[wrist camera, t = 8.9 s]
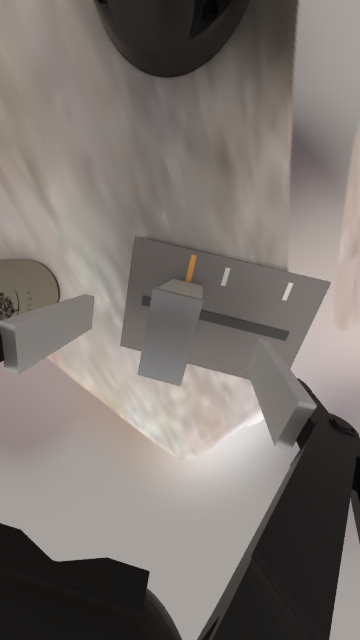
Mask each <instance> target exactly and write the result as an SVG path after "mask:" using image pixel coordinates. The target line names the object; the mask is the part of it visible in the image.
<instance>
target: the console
mask: <svg viewBox="0 0 360 640" xmlns="http://www.w3.org/2000/svg"><path fill="white" fill-rule="evenodd" d="M172 279H177V280H181V281H186V282H190V283H194V284H198V285H202V286H203V296H202V299H203V304H202V308H201V312H200V315H199V319H198V323H197V326H196V330H195V334H194V338H193V341H192V345H191V349H190V353H189V356H188V360H187V363H188V364H192V365H196V366H200V367H203V368H207V369H211V370H215V371H219V372H222V373H226V374H230V375H234V376H238V377H242V378H245V379H249V380H250V377H249V374H248V371H247V369H246V368H247V366H248V363H249V361H250V358H251V356H252V353H253V351H254V348H255V346H256V343H257V341H258V338H260V339H264V340H268V341H269V342H270V343H271V345H272V346H273V347H274V349H275V350H276V351H277V353H278V354H279V355H280V357H281V358H282V359H283V361H284V362H285V363H286V365H287V366H288V367H289V369H290V368H291V366H292V364H293V361H294V359H295V357H296V355H297V353H298V351H299V349H300V347H301V345H302V343H303V340H304V338H305V336H306V334H307V332H308V330H309V328H310V326H311V324H312V321H313V319H314V317H315V315H316V313H317V311H318V309H319V307H320V305H321V303H322V300H323V298H324V296H325V294H326V292H327V290H328V288H329V286H330V284H331V282H328V281H324V280H320V279H315V278H311V277H307V276H303V275H298V274H294V273H290V272H285V271H281V270H277V269H273V268H268V267H264V266H260V265H256V264H251V263H247V262H243V261H238V260H234V259H230V258H226V257H221V256H217V255H213V254H209V253H204V252H200V251H196V250H191V249H187V248H183V247H179V246H174V245H170V244H166V243H161V242H157V241H153V240H149V239H144V238H140V237H136V236H135V240H134V247H133V255H132V262H131V269H130V277H129V284H128V292H127V299H126V307H125V314H124V322H123V329H122V336H121V344H120V346H123V347H127V348H131V349H135V350H138V351H142V347H143V342H144V336H145V330H146V325H147V319H148V313H149V308H150V302H151V297H152V291H153V288H158V287H160V286H161V285H163V284H165V283H166V282H168V281H170V280H172Z"/></svg>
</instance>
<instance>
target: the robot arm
mask: <svg viewBox="0 0 360 640" xmlns="http://www.w3.org/2000/svg"><path fill="white" fill-rule="evenodd" d="M93 1H94V3H95V5H96V8H97V10H98V12H99V15H100V17H101V20H102V22H103V24H104V26H105V29H106V31H107V33H108V35H109V36H110V38H111V40H112V42H113V43H114V45H115V46H116V47H117V49H118V50H119V51H120V52H121V54H122V55H123V56H124V57H125V58H126V59H127V60H128V61H130V62H131V63H132V64H133V65H135V66H136V67H138V68H140V69H141V70H143V71H145V72H148V73H151V74H155V75H160V76H174V75H180V74H183V73H186V72H189V71H191V70H193V69H196V68H197V67H199V66H201V65H202V64H204V63H205V62H206V61H208V60H209V59H210V58H211V57H212V56H214V55H215V54H216V53H217V52H218V51H219V49H220V48H221V47H222V46H223V45H224V44H225V42H226V41H227V40H228V39H229V37H230V36H231V34H232V33H233V31H234V30H235V28H236V26H237V24H238V23H239V21H240V19H241V17H242V15H243V13H244V11H245V8H246V6H247V4H248V1H249V0H93ZM93 304H94V296H90V295H86V294H84V295H81V296H78V297H75V298H71V299H68V300H65V301H62V302H59V303H55V304H52V305H49V306H46V307H43V308H39V309H36V310H33V311H30V312H27V313H23V314H20V315H17V316H14V317H11V318H8V319H4V320H1V321H0V362H2V361H3V360H4V368H5V371H9V372H12V373H16V374H20V373H22V372H23V371H25V370H26V369H28V368H29V367H31V366H33V365H34V364H36V363H37V362H39V361H41V360H42V359H44V358H45V357H47V356H49V355H50V354H52V353H53V352H55V351H56V350H58V349H60V348H61V347H63V346H64V345H66V344H68V343H69V342H71V341H72V340H74V339H76V338H77V337H79V336H80V335H82V334H83V333H85V332H87V331H88V330H90V329H91V328H92V319H93ZM246 369H247V371H248V374H249V377H250V380H251V382H252V385H253V388H254V391H255V393H256V396H257V399H258V402H259V404H260V407H261V410H262V413H263V415H264V418H265V421H266V423H267V426H268V429H269V432H270V434H271V437H272V440H273V443H274V445H275V446H277V447H281V448H284V449H288V450H291V449H292V447H293V445H294V444H295V442H296V441H297V443H298V445H299V448H300V451H299V452H298V454H297V455H296V457H295V459H294V460H293V462H292V464H291V465H290V466H291V467H290V469H289V471H288V472H287V474H286V476H285V478H284V480H283V482H282V484H281V486H280V487H279V489H278V491H277V493H276V495H275V497H274V499H273V501H272V502H271V504H270V506H269V508H268V510H267V512H266V514H265V516H264V518H263V520H262V521H261V523H260V525H259V527H258V529H257V531H256V533H255V535H254V536H253V538H252V540H251V542H250V544H249V546H248V548H247V549H246V551H245V553H244V555H243V557H242V559H241V561H240V563H239V565H238V567H237V568H236V570H235V572H234V574H233V576H232V578H231V580H230V582H229V583H228V585H227V587H226V589H225V591H224V593H223V595H222V596H221V598H220V600H219V602H218V604H217V606H216V608H215V609H214V611H213V613H212V615H211V617H210V618H209V620H208V622H207V624H206V625H205V627H204V629H203V630H202V632H201V634H200V636H199V637H198V639H197V640H329V636H330V630H331V623H332V615H333V610H334V603H335V596H336V589H337V583H338V577H339V570H340V563H341V556H342V550H343V543H344V537H345V530H346V523H347V517H348V510H349V504H350V498H351V502H352V508H353V512H354V517H355V522H356V527H357V532H358V537H359V542H360V438H359V434H358V433H357V431H356V430H355V429H354V428H353V427H352V426H351V425H350V424H349V423H348V422H346V421H345V420H343V419H341V418H340V417H337V416H336V415H333V414H330V413H328V411H327V410H326V409H325V408H324V406H323V405H322V404H321V403H320V401H319V400H318V399H317V398H316V396H315V395H314V394H313V393H312V391H311V390H310V388H309V387H308V386H307V385H306V384H305V383H304V382H303V381H301V380H300V379H298V378H296V377H295V375H294V374H293V373H292V371H291V370H290V369H289V367H288V366H287V365H286V363H285V362H284V361H283V359H282V358H281V357H280V355H279V354H278V353H277V351H276V350H275V349H274V347H273V346H272V345H271V343H270V342H269V341H268V340H264V339H260V338H258V341H257V343H256V346H255V348H254V351H253V353H252V356H251V358H250V361H249V363H248V366H247V368H246ZM148 577H149V571H147V570H144V569H141V568H138V567H134V566H131V565H128V564H125V563H122V562H119V561H116V560H113V559H110V558H96V559H85V560H73V561H61V562H57V561H53V560H52V559H50V558H49V557H48V556H47V555H46V554H45V553H44V552H43V551H42V550H41V549H40V548H39V547H38V546H37V545H36V544H35V543H34V542H33V541H31V539H30V538H29V537H28V536H27V535H25V533H23V532H22V531H21V530H20V529H17V528H14V527H10V526H7V525H4V524H1V523H0V640H182V638H181V636H180V634H179V632H178V630H177V628H176V626H175V624H174V622H173V620H172V618H171V617H170V615H169V613H168V612H167V610H166V609H165V607H164V606H163V604H162V603H161V602H160V601H159V600H158V598H157V597H156V596H155V595H154V594H153V593H152V592H151V591H150V590H149V589H147V583H148Z"/></svg>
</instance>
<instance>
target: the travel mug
mask: <svg viewBox="0 0 360 640" xmlns="http://www.w3.org/2000/svg"><path fill="white" fill-rule="evenodd" d="M58 296H59V293H58V286H57V283H56V281H55V279H54V277H53V275H52V274H51V273H50V271H49V270H48V269H47V268H46V267H44V266H43V265H42V264H40V263H38V262H36V261H33V260H4V259H0V321H1V320H4V319H8V318H11V317H14V316H17V315H20V314H23V313H27V312H30V311H33V310H36V309H39V308H43V307H46V306H49V305H52V304H55V303H57V301H58Z"/></svg>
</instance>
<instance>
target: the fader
mask: <svg viewBox="0 0 360 640" xmlns="http://www.w3.org/2000/svg"><path fill="white" fill-rule="evenodd" d="M202 296H203V286H202V285H198V284H194V283H190V282H186V281H181V280H177V279H172V280H170V281H168V282H166V283H165V284H163V285H161V286H160V287H158V288H153V291H152V297H151V302H150V308H149V313H148V319H147V325H146V330H145V336H144V342H143V347H142V353H141V359H140V364H139V370H138V375H140V376H144V377H148V378H151V379H155V380H159V381H163V382H166V383H170V384H174V385H177V386H181V382H182V379H183V375H184V371H185V367H186V364H187V360H188V356H189V353H190V349H191V345H192V341H193V338H194V334H195V330H196V326H197V323H198V319H199V315H200V312H201V308H202V304H203V299H202Z"/></svg>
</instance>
